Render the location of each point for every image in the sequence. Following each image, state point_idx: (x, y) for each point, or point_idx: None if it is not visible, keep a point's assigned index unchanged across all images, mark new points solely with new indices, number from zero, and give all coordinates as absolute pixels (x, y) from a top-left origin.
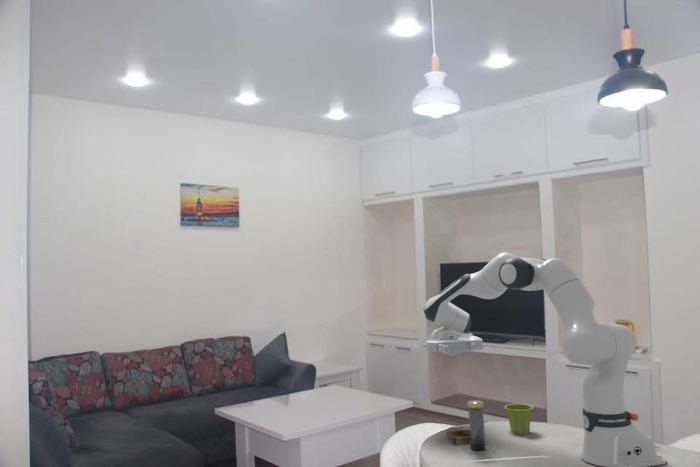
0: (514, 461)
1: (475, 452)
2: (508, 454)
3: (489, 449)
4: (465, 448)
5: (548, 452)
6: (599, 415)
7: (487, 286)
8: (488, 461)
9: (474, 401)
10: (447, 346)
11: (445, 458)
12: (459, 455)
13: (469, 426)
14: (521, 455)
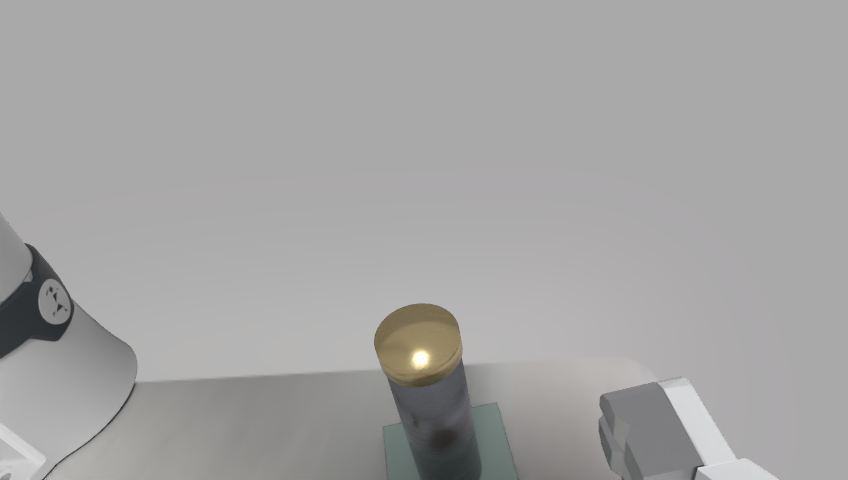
0: (344, 371)
1: None
2: (340, 437)
3: (402, 466)
4: (503, 477)
5: (186, 464)
6: (30, 245)
7: None
8: None
9: (418, 347)
10: (610, 393)
11: (584, 386)
12: (530, 420)
13: (470, 406)
14: (297, 428)
